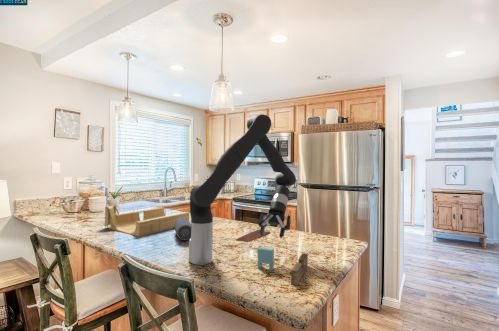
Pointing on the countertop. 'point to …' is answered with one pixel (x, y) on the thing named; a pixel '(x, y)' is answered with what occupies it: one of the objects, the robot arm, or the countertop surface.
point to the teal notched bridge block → (266, 257)
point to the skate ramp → (134, 226)
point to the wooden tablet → (252, 236)
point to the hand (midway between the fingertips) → (270, 235)
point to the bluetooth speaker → (183, 228)
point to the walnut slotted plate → (299, 269)
